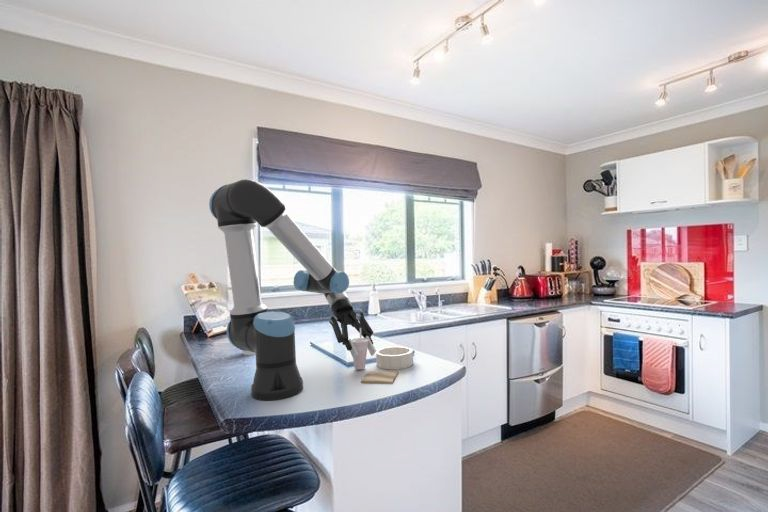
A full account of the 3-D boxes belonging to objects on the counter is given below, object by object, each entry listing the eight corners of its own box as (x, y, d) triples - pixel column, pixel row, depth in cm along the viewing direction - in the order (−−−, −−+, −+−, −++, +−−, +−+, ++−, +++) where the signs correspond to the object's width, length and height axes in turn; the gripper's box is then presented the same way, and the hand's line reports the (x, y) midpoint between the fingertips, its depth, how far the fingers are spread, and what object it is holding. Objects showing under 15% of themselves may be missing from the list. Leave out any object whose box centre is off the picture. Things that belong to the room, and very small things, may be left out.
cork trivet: (392, 383, 117) (392, 381, 117) (361, 382, 119) (360, 380, 119) (398, 373, 127) (398, 371, 127) (369, 372, 129) (369, 370, 129)
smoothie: (360, 371, 129) (360, 330, 129) (346, 368, 133) (346, 328, 132) (372, 367, 134) (372, 327, 134) (358, 364, 138) (358, 325, 138)
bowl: (403, 371, 128) (403, 357, 128) (370, 367, 134) (369, 354, 134) (418, 360, 140) (417, 347, 140) (386, 358, 146) (386, 345, 146)
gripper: (358, 307, 152) (383, 356, 138) (313, 313, 140) (336, 367, 127) (365, 295, 147) (392, 344, 134) (319, 300, 136) (343, 354, 123)
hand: (365, 355), depth 130 cm, fingers closed on smoothie, 6 cm apart
